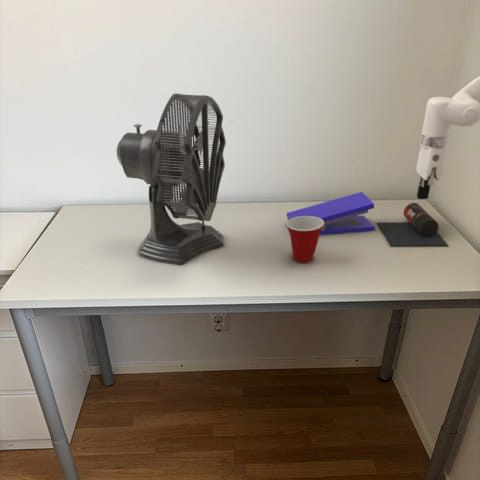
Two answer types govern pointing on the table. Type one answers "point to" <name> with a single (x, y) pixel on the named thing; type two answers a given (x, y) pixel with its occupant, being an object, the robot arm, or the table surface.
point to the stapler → (340, 214)
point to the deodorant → (421, 220)
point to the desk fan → (178, 178)
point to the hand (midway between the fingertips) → (422, 197)
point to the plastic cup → (304, 236)
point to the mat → (408, 235)
